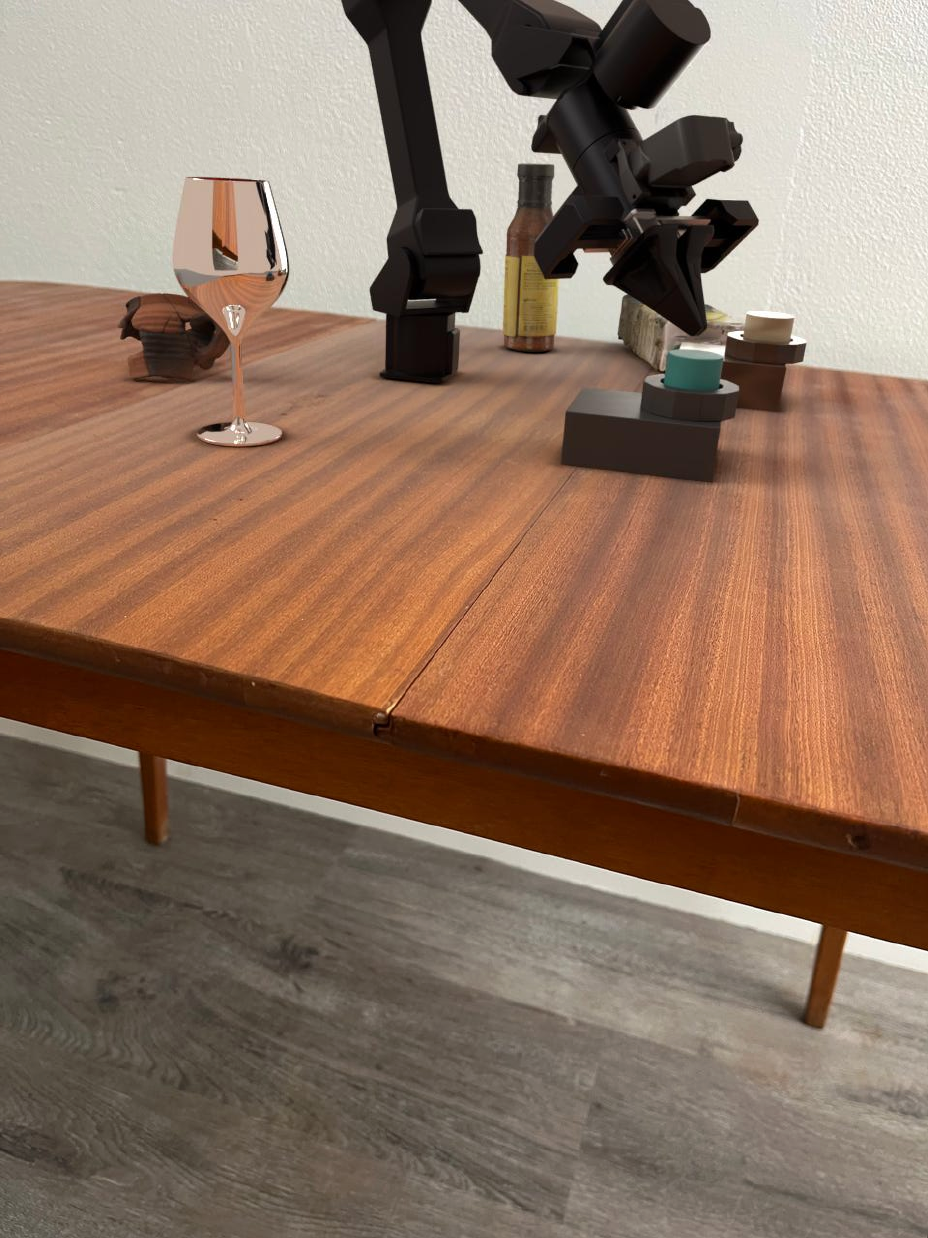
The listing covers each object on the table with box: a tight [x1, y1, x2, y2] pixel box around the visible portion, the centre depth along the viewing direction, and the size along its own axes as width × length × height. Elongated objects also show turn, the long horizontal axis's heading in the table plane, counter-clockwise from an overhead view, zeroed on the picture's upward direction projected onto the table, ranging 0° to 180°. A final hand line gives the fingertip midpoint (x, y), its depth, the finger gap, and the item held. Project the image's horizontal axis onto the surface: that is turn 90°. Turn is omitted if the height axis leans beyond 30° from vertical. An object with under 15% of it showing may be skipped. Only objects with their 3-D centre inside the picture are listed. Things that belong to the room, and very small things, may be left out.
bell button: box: [743, 310, 795, 342], centre depth 94 cm, size 4×4×3 cm
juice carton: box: [617, 294, 745, 372], centre depth 114 cm, size 20×10×6 cm, turn 7°
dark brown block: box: [560, 373, 739, 483], centre depth 75 cm, size 12×9×6 cm
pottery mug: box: [117, 292, 230, 382], centre depth 94 cm, size 12×10×8 cm
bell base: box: [680, 331, 808, 413], centre depth 96 cm, size 12×9×6 cm
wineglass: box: [171, 176, 291, 447], centre depth 72 cm, size 8×8×18 cm
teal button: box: [664, 349, 724, 391], centre depth 73 cm, size 4×4×2 cm
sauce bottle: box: [502, 162, 560, 353], centre depth 112 cm, size 6×6×20 cm
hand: (699, 332), depth 71 cm, fingers closed
